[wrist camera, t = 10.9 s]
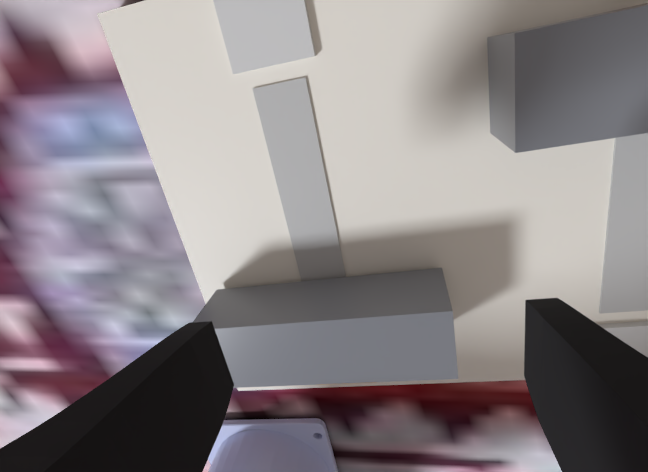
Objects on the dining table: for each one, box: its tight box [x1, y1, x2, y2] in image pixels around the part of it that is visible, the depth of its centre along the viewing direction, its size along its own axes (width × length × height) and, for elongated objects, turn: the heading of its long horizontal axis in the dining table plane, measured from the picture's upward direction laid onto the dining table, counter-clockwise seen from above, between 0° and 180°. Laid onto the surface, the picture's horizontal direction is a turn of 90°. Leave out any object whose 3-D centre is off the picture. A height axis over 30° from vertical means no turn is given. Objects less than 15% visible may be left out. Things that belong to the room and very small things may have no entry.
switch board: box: [97, 0, 648, 391], centre depth 15 cm, size 18×24×1 cm
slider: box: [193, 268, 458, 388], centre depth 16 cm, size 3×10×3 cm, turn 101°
